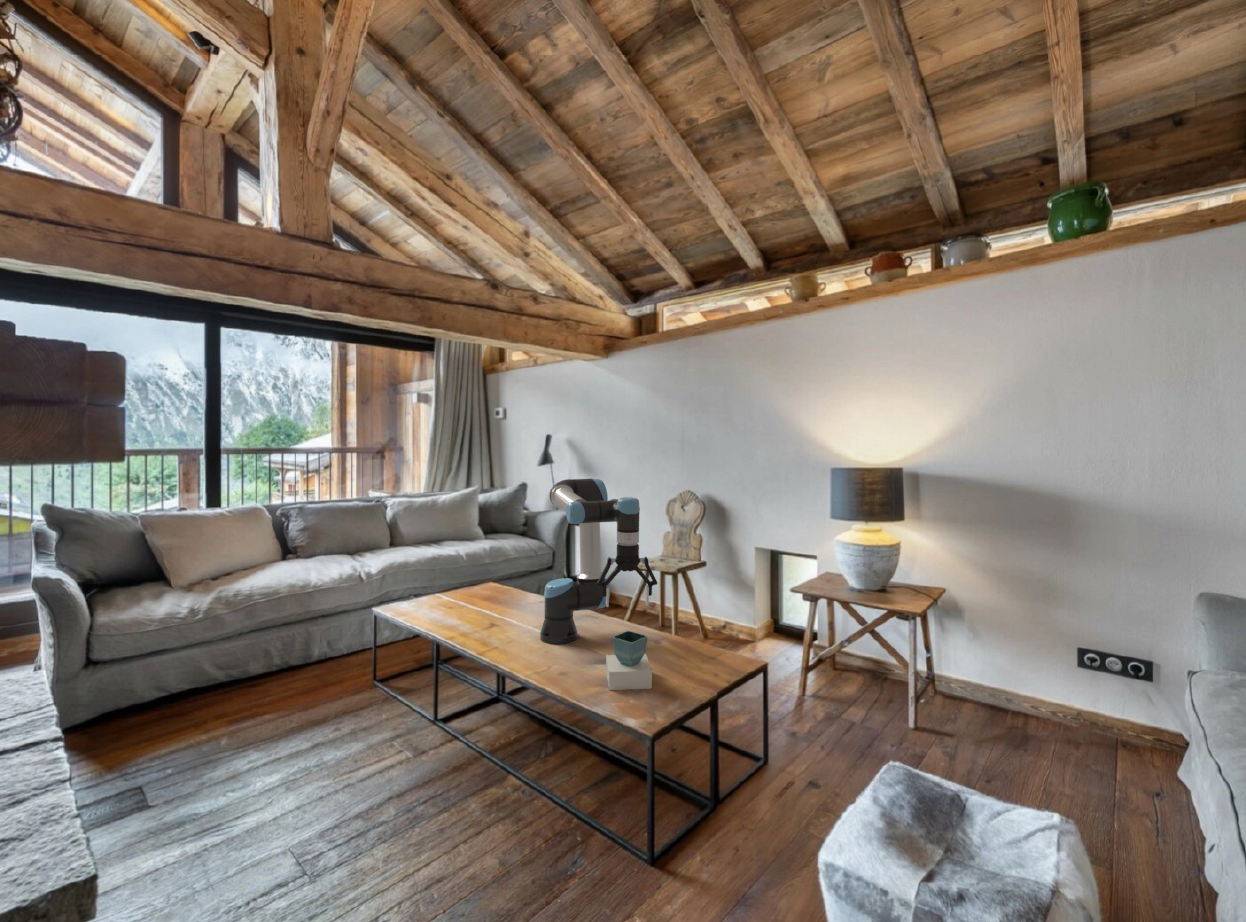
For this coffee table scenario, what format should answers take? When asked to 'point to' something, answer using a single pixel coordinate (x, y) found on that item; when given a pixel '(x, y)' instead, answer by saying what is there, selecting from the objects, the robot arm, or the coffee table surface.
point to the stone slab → (628, 674)
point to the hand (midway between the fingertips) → (627, 605)
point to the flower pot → (629, 647)
